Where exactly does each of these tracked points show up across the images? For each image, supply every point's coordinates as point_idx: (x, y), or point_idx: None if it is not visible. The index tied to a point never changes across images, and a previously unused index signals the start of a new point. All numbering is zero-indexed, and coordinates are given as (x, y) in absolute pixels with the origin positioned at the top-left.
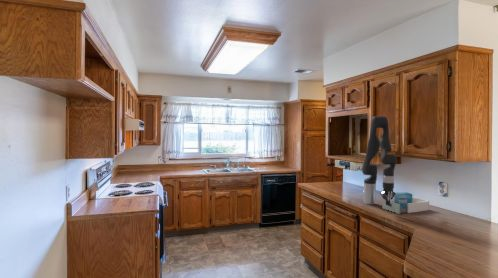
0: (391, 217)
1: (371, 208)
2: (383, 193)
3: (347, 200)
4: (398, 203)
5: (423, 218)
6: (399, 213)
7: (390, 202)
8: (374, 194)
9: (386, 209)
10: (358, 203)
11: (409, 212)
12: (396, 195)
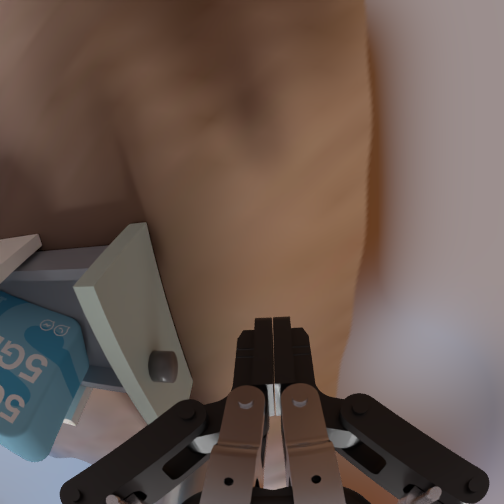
0: (331, 142)
1: (275, 402)
2: (479, 500)
3: (284, 480)
4: (55, 356)
5: (20, 59)
6: (131, 224)
7: (146, 390)
8: (177, 495)
9: (182, 354)
10: (270, 459)
11: (26, 236)
12: (38, 435)
